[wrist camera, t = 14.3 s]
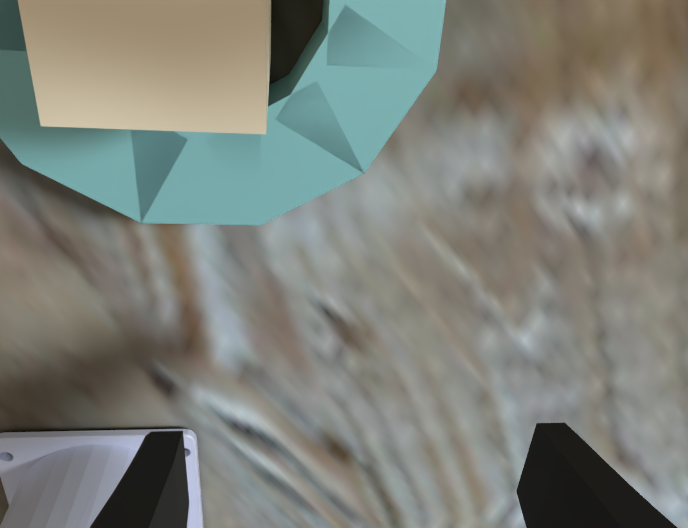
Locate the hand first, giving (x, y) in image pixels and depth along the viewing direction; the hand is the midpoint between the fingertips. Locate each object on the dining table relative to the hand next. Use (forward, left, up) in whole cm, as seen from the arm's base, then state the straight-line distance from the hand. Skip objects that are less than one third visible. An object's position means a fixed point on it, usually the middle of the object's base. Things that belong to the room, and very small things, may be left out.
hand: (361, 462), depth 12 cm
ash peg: (+8, +4, -10) cm, 14 cm away
